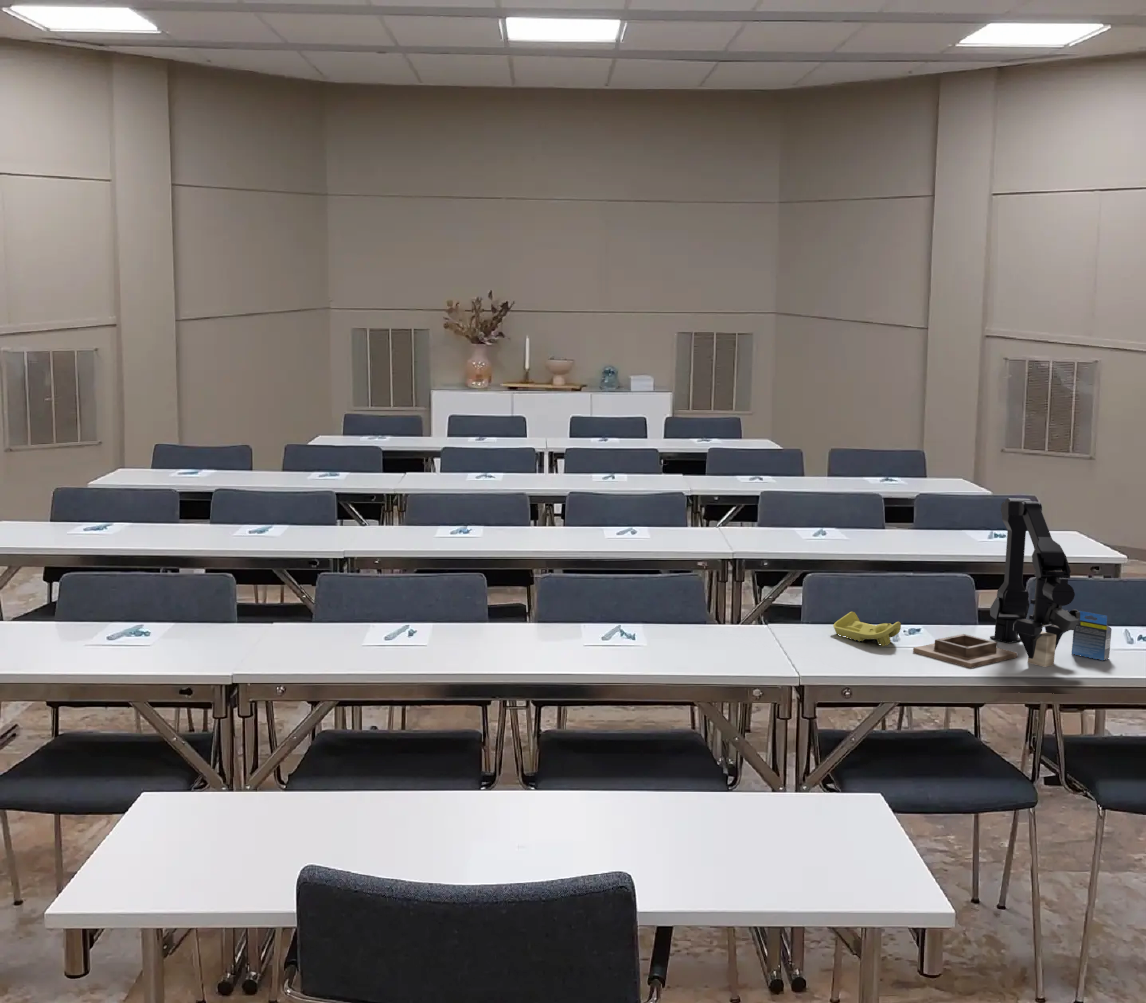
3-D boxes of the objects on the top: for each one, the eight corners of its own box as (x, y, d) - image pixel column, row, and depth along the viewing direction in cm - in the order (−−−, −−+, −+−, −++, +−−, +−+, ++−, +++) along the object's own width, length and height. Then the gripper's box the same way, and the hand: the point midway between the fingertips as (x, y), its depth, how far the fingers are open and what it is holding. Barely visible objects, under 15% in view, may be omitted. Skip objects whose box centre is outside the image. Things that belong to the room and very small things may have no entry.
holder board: (959, 642, 352) (960, 629, 352) (1017, 657, 338) (1018, 643, 338) (913, 652, 340) (914, 638, 340) (970, 668, 326) (971, 653, 326)
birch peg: (1036, 660, 336) (1039, 630, 335) (1053, 664, 332) (1056, 634, 331) (1027, 662, 333) (1030, 632, 332) (1044, 667, 329) (1047, 636, 328)
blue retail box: (1109, 659, 339) (1114, 613, 337) (1103, 661, 336) (1107, 615, 335) (1076, 652, 345) (1080, 607, 344) (1070, 654, 343) (1074, 609, 341)
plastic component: (829, 626, 357) (855, 608, 361) (838, 648, 359) (864, 630, 363) (876, 637, 340) (903, 618, 343) (886, 661, 342) (912, 642, 345)
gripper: (1053, 607, 318) (1048, 668, 320) (1095, 599, 329) (1089, 658, 331) (1014, 598, 327) (1009, 658, 329) (1056, 590, 338) (1051, 648, 340)
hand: (1041, 655), depth 332 cm, fingers open, 9 cm apart
